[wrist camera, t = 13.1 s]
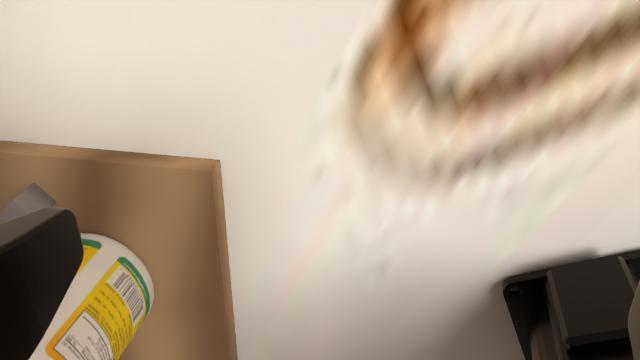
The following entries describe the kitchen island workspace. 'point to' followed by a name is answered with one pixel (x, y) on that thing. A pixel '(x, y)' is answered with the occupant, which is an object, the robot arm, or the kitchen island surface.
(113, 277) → the supplement bottle
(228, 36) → the kitchen island surface
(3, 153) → the square wooden base plate
